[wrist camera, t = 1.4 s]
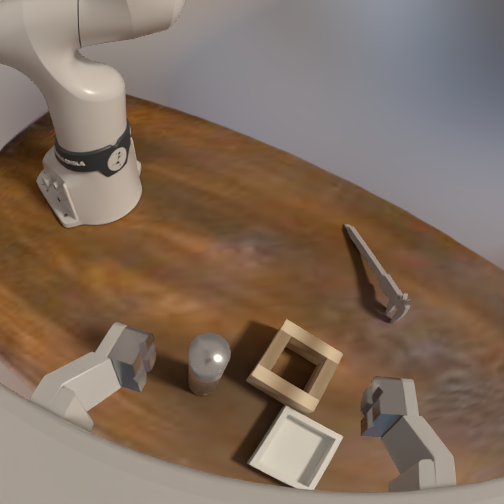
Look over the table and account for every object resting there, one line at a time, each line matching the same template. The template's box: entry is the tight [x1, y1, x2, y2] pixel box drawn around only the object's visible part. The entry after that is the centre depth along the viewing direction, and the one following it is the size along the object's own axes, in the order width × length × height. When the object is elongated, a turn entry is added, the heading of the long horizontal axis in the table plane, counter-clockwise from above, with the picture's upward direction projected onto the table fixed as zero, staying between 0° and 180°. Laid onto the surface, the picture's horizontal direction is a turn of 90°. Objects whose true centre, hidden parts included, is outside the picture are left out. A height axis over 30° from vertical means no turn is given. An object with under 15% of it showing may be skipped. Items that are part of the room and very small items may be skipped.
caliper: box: [344, 224, 412, 323], centre depth 52 cm, size 20×1×6 cm, turn 17°
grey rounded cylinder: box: [188, 333, 231, 396], centre depth 33 cm, size 4×4×15 cm
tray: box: [247, 406, 343, 490], centre depth 35 cm, size 9×9×2 cm
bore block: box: [246, 319, 343, 415], centre depth 41 cm, size 9×9×4 cm
